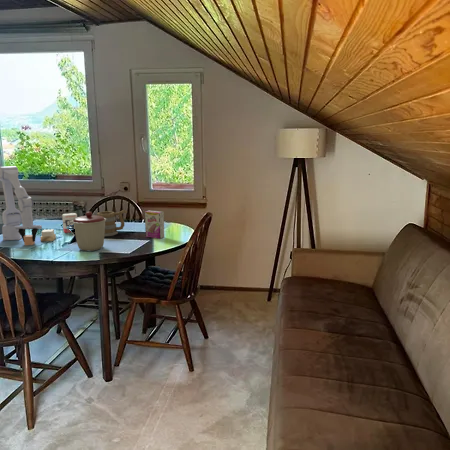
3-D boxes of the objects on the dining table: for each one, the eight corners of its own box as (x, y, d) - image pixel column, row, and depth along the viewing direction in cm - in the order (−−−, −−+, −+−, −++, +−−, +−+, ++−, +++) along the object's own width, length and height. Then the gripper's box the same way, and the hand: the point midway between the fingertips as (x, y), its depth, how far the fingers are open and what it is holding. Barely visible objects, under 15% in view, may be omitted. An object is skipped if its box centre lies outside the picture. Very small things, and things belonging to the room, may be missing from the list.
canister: (108, 251, 230) (106, 213, 226) (73, 254, 225) (70, 215, 221) (107, 243, 247) (105, 208, 243) (74, 246, 242) (72, 209, 238)
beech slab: (40, 241, 253) (40, 237, 252) (44, 239, 260) (43, 234, 259) (53, 241, 254) (52, 236, 253) (55, 238, 261) (55, 234, 260)
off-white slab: (41, 236, 253) (41, 231, 252) (43, 234, 259) (43, 229, 258) (52, 236, 254) (52, 231, 254) (54, 234, 260) (53, 229, 259)
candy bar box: (145, 237, 262) (144, 211, 259) (149, 235, 267) (148, 210, 264) (160, 239, 258) (159, 212, 254) (164, 237, 262) (164, 211, 259)
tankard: (98, 237, 263) (96, 213, 260) (95, 232, 275) (94, 210, 272) (130, 234, 271) (129, 211, 268) (126, 230, 283) (125, 208, 279)
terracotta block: (24, 245, 244) (23, 236, 242) (26, 243, 248) (25, 235, 247) (32, 244, 244) (31, 236, 243) (34, 243, 249) (34, 234, 247)
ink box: (65, 233, 274) (63, 215, 272) (63, 231, 278) (61, 214, 276) (78, 231, 279) (77, 213, 276) (76, 230, 283) (75, 212, 280)
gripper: (11, 220, 238) (13, 243, 241) (38, 219, 240) (40, 242, 243) (15, 217, 245) (17, 240, 248) (41, 217, 247) (43, 239, 250)
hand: (29, 241), depth 246 cm, fingers closed on terracotta block, 4 cm apart
